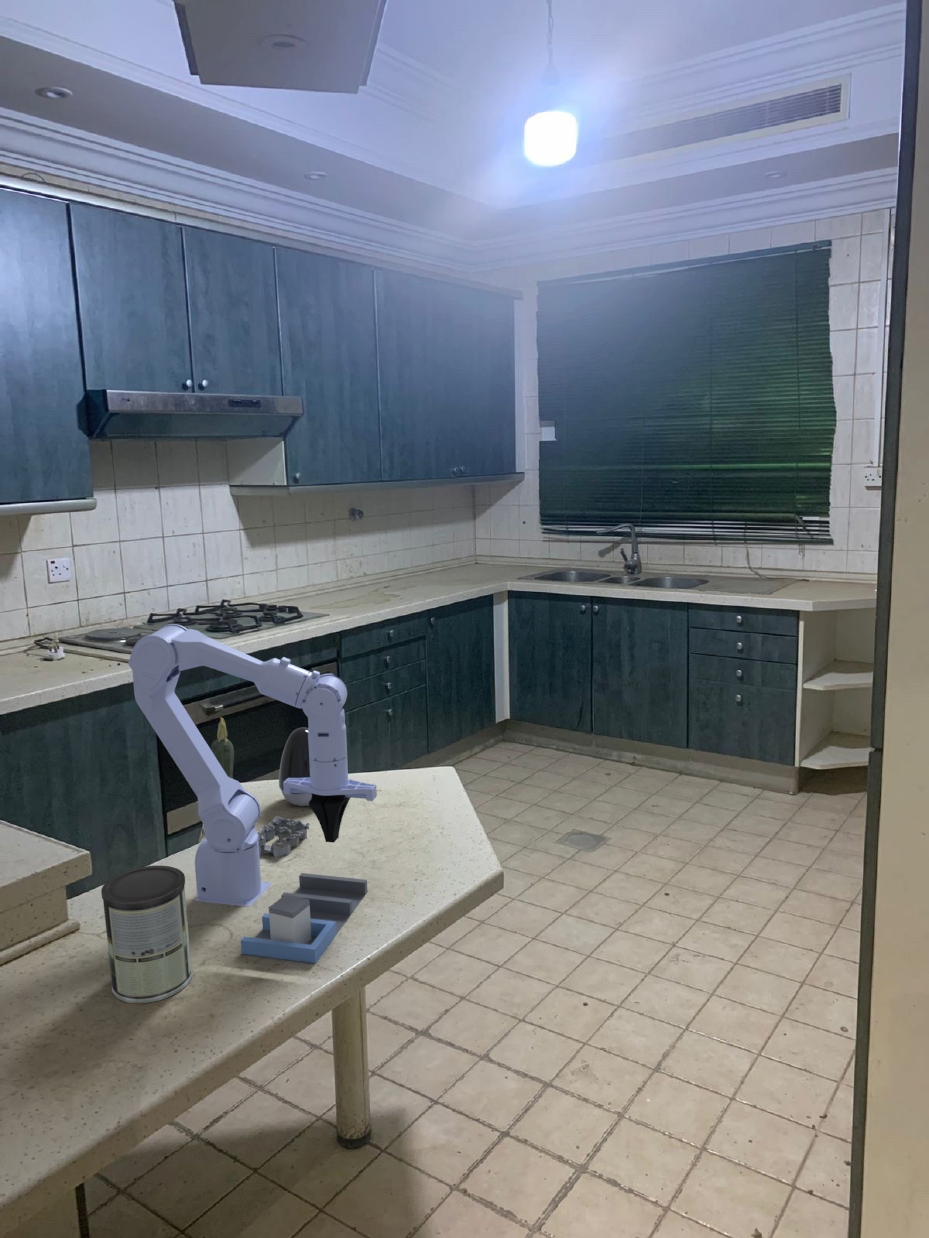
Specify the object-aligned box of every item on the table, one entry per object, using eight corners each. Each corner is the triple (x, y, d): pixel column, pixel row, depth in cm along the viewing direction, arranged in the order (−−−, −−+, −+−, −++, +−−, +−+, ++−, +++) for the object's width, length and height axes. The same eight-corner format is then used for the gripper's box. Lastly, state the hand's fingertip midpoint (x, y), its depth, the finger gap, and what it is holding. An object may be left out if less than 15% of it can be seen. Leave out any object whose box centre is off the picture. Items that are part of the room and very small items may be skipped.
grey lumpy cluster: (284, 864, 156) (282, 841, 155) (245, 858, 158) (244, 835, 157) (314, 837, 166) (313, 816, 165) (277, 832, 168) (276, 811, 167)
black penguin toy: (305, 815, 175) (301, 739, 172) (269, 803, 181) (264, 730, 178) (343, 799, 183) (340, 725, 180) (307, 788, 189) (303, 717, 186)
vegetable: (232, 826, 170) (225, 723, 167) (210, 824, 171) (203, 722, 168) (242, 816, 175) (235, 716, 171) (221, 815, 176) (214, 715, 172)
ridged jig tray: (241, 958, 127) (239, 941, 126) (303, 887, 147) (302, 872, 146) (315, 967, 124) (314, 950, 123) (368, 894, 144) (367, 878, 143)
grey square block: (271, 946, 128) (268, 907, 127) (288, 932, 132) (286, 894, 131) (294, 952, 127) (292, 912, 125) (311, 938, 130) (309, 899, 129)
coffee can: (95, 985, 121) (85, 886, 118) (164, 951, 129) (156, 857, 126) (138, 1014, 114) (129, 910, 112) (208, 977, 122) (201, 879, 120)
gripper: (382, 750, 141) (384, 832, 144) (295, 744, 145) (299, 825, 147) (366, 765, 135) (369, 852, 137) (275, 759, 138) (280, 843, 141)
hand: (332, 839), depth 142 cm, fingers closed
